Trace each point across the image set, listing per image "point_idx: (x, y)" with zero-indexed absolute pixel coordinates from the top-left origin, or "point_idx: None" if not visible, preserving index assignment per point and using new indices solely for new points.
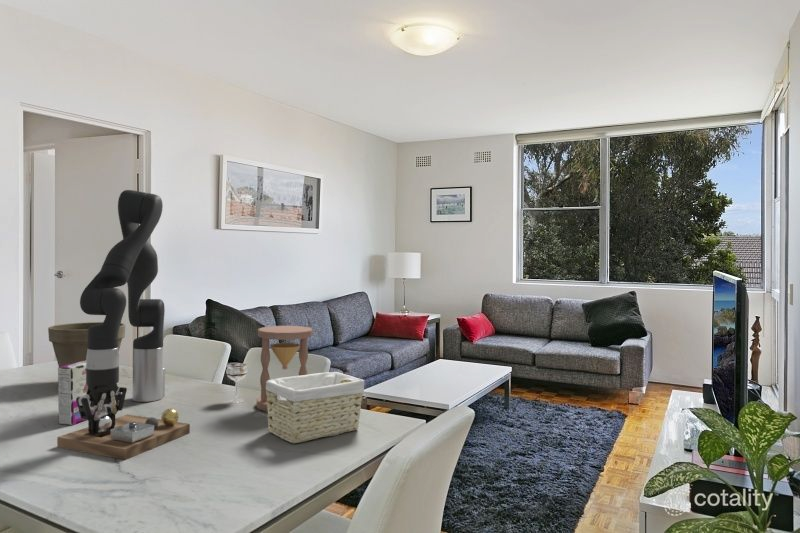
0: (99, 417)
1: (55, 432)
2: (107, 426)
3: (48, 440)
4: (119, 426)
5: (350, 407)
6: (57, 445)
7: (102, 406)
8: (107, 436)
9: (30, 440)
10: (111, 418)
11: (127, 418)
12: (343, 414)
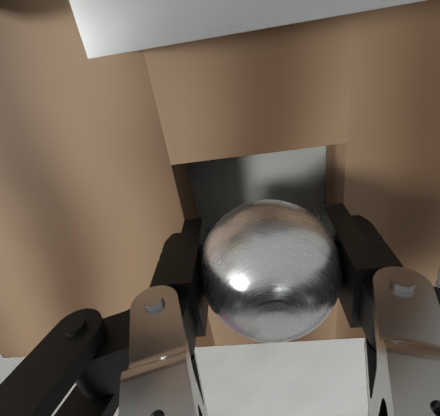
0: (319, 302)
1: (266, 404)
2: (273, 201)
3: (341, 367)
4: (293, 13)
5: None
6: None
7: (391, 395)
8: (306, 126)
9: (365, 400)
10: (196, 269)
11: (27, 316)
12: None
